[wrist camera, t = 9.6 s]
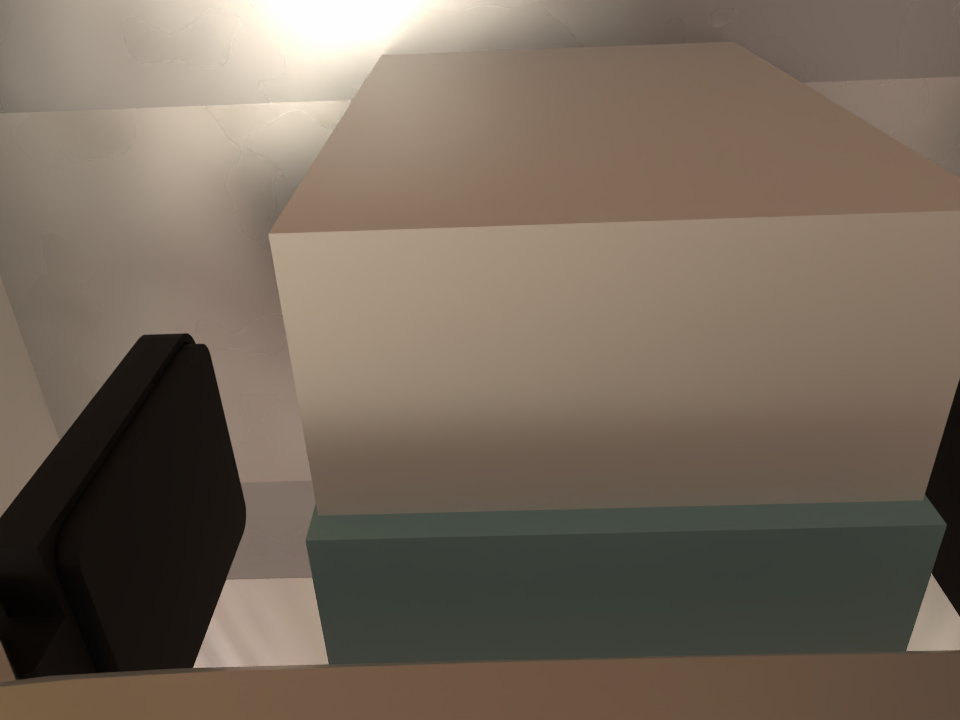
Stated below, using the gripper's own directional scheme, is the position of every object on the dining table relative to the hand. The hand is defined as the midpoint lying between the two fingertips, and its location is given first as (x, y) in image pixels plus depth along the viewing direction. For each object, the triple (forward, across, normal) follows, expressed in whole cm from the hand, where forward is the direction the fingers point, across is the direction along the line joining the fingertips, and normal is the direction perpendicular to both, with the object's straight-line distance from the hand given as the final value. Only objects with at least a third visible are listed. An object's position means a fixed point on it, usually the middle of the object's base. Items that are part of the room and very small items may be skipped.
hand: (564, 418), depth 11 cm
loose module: (+3, 0, 0) cm, 3 cm away
